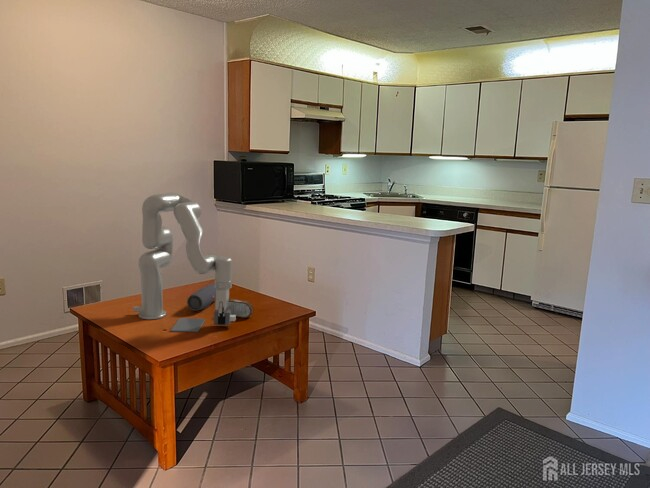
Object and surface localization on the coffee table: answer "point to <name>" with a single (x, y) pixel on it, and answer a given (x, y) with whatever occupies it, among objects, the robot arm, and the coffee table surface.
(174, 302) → the coffee table surface
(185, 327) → the slate board
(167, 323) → the coffee table surface
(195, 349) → the coffee table surface
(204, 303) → the bluetooth speaker
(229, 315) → the block
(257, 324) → the coffee table surface
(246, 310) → the tin
